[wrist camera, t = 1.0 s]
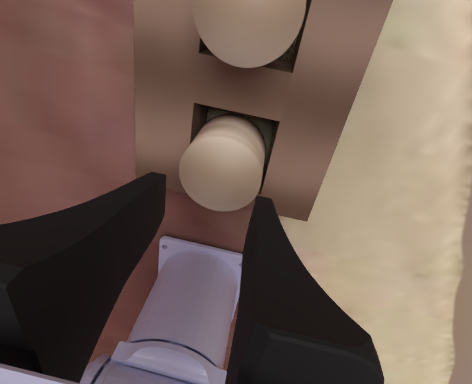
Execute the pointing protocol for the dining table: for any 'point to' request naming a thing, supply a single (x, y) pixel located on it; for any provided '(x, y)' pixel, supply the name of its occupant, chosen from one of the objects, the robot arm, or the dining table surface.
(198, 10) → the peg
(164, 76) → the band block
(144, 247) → the robot arm
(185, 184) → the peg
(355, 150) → the dining table surface
